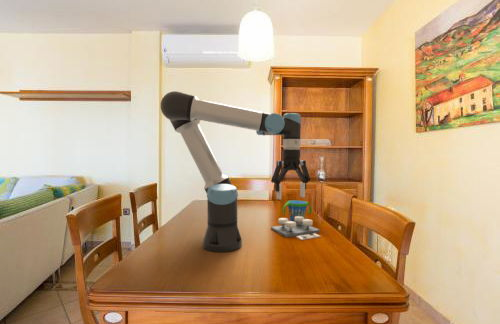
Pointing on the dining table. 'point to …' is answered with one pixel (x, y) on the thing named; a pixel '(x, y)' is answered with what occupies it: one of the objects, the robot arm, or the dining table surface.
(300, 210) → the snack cup
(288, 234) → the button board
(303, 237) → the pattern tile
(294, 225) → the button
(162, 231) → the dining table surface
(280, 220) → the button
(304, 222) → the button
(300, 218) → the button
